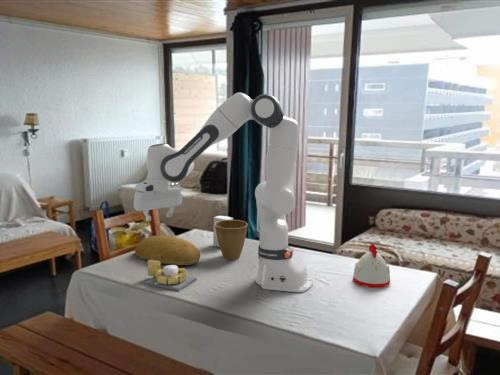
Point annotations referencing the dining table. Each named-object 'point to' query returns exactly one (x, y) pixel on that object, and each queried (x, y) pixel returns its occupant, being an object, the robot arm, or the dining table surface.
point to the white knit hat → (372, 270)
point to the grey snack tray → (166, 272)
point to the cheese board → (157, 272)
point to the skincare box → (216, 219)
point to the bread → (168, 250)
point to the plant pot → (231, 237)
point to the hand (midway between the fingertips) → (159, 219)
